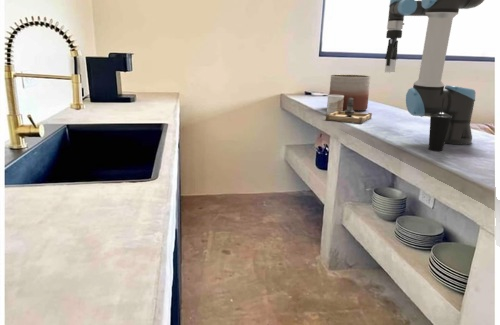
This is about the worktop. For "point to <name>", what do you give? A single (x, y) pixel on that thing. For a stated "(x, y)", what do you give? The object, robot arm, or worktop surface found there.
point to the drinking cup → (438, 129)
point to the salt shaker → (349, 108)
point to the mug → (335, 103)
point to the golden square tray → (341, 117)
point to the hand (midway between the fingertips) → (389, 72)
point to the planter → (351, 90)
